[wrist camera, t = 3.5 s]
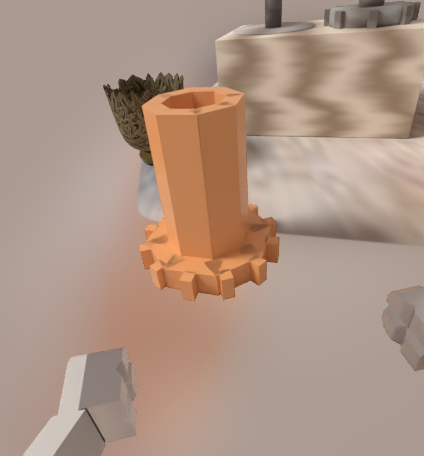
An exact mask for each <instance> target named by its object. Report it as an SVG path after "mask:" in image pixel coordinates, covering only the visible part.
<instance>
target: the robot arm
mask: <svg viewBox="0 0 424 456" xmlns="http://www.w3.org/2000/svg"><path fill="white" fill-rule="evenodd" d="M387 302H388V303H389V304H390V305H389V306H388V307H387V308H386V309H385V310H384V311H383V316H382V321H383V326H384V328H385V330H386V333H387V334H388V335H389V337H390V338H391V340H393V341H395V342H396V343H398V344H400V345H401V353H402V355H403V356H404V357H405V359H406V360H407V361H408V363H409V364H410V365H411V367H412V368H413V370H414V371H417V370H422V369H424V285H422V286H415V287H411V288H407V289H402V290H397V291H392V292H391V293H390V294H388V297H387ZM135 380H136V379H135V373H134V369H133V366H132V364H131V363H130V362H128V352H127V350H126V348H125V347H124V348H118V349H113V350H107V351H101V352H96V353H90V354H85V355H80V356H75V357H71V358H70V360H69V362H68V366H67V370H66V376H65V381H64V387H63V392H62V396H61V402H60V407H59V412H58V415H56V416H53V417H52V418H51V419H50V420H49V421H48V423H47V424H46V425H45V427H44V428H43V429H42V431H41V432H40V434H39V435H38V436H37V437H36V439H35V440H34V441H33V443H32V444H31V445H30V447H29V448H28V449H27V450H26V452H25V453H24V454H23V456H100V455H101V454H102V452H103V450H104V448H105V446H106V444H105V443H108V442H112V441H115V440H119V439H123V438H127V437H131V436H135V435H136V409H135V407H134V404H133V400H134V399H135V397H136V381H135Z"/></svg>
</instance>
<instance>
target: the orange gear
mask: <svg viewBox="0 0 424 456" xmlns="http://www.w3.org/2000/svg"><path fill="white" fill-rule="evenodd" d="M142 109H143V114H144V119H145V124H146V129H147V134H148V139H149V144H150V149H151V154H152V159H153V164H154V169H155V174H156V179H157V184H158V189H159V194H160V199H161V204H162V209H163V214H164V217H163V219H162V220H161V222H160V223H159V224H158V225H150V224H149V225H148V226H147V227H146V229H145V230H144V231H145V235H146V239H147V241H146V244H142V245H140V252H141V256H142V260H143V264H144V267H145V269H150V271H151V275H152V279H153V283H154V285H155V286H156V287H158V288H159V289H161V290H162V289H163V288H164V287H166V286H167V287H168V288H174V289H180V290H181V291H182V296H183V299H185V300H191V301H195V299H196V296H197V294H198V292H200V293H206V294H213V295H220V294H221V295H222V298H223V299H229V298H232V297H235V290H234V288H235V287H237V286H239V285H242V284H244V283H246V282H248V281H250V280H251V281H253V282H254V283H256V284H257V285H260V284H261V283H262V282H264V281H265V280H266V269H267V266H266V265H267V264H266V263H267V262H274V263H277V262H278V256H279V237H276V222H275V220H274V219H273V218H272V217H270V218H265V219H262V218H261V217H260V216H258V207H257V206H255V205H253V204H249V205H248V184H247V153H246V122H245V94H244V93H242V92H239V91H236V90H233V89H230V88H227V87H198V88H197V87H196V88H187V89H182V90H177V91H173V92H168V93H164V94H159V95H157V96H155V97H154V98H152V99H151V100H149V101H148V102H146V103H145V104H144V105H142Z"/></svg>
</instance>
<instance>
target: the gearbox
mask: <svg viewBox="0 0 424 456" xmlns="http://www.w3.org/2000/svg"><path fill="white" fill-rule="evenodd" d="M384 1H385V0H359V4H357V5H348V6H338V7H335V8H332V9H325V17H324V20H314V21H300V22H283V23H281V15H282V0H265V24H257V25H244V26H241V27H239V28H237V29H236V30H234V31H232V32H230V33H228V34H226V35H225V36H223V37H221V38H219V39H217V40H216V41H215V45H216V59H217V73H218V86H219V87H227V88H230V89H233V90H236V91H239V92H242V93H244V94H245V122H246V135H260V136H313V137H366V138H409V134H410V130H411V126H412V122H413V118H414V114H415V110H416V106H417V101H418V97H419V93H420V89H421V85H422V81H423V77H424V20H422V19H420V18H418V13H419V8H420V4H421V3H420V2H414V3H413V2H404V1H397V2H384Z"/></svg>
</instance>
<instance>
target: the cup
mask: <svg viewBox="0 0 424 456" xmlns="http://www.w3.org/2000/svg"><path fill="white" fill-rule="evenodd" d="M118 84H119V90H118V89H115V90H112V89H111V88H110V86H109V84H107V86H105V85H103V87H104V90H105V93H106V96H107V98H108V101H109V104H110V107H111V109H112V112H113V115H114V118H115V120H116V123H117V125H118V128H119V130H120V132H121V134H122V136H123V138H124V139H125V141H126V142H127V143H128V144H129V145H130V146H132V147H133V148H135V149H138V150H140V154H139V155H140V157H141V159H142V160H143V161H144V162H145V163H147V164H153V159H152V154H151V149H150V144H149V139H148V134H147V129H146V124H145V119H144V114H143V109H142V105H144V104H145V103H146V102H148V101H149V100H151V99H152V98H154V97H155V96H157V95H159V94H164V93H168V92H173V91H177V90H182V89H183V75H182V76H181V77H180V80H179V76H178V74H176V75H175V77H174V80H173V78H172V75H171V74H169V73H168V74H167V75H165V76H163V74H162V73H160V74H159V75H158V77H157V79H156V81H155V82H154V81H153V78H152V77H151V76H150V75H149V74H147V77H146V81H145V80H143V79H142V80H141V78H139V77H136V76H134V75H131V76H130V77H129V79H128V80H127V81H125V80H123V79H119V81H118Z"/></svg>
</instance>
